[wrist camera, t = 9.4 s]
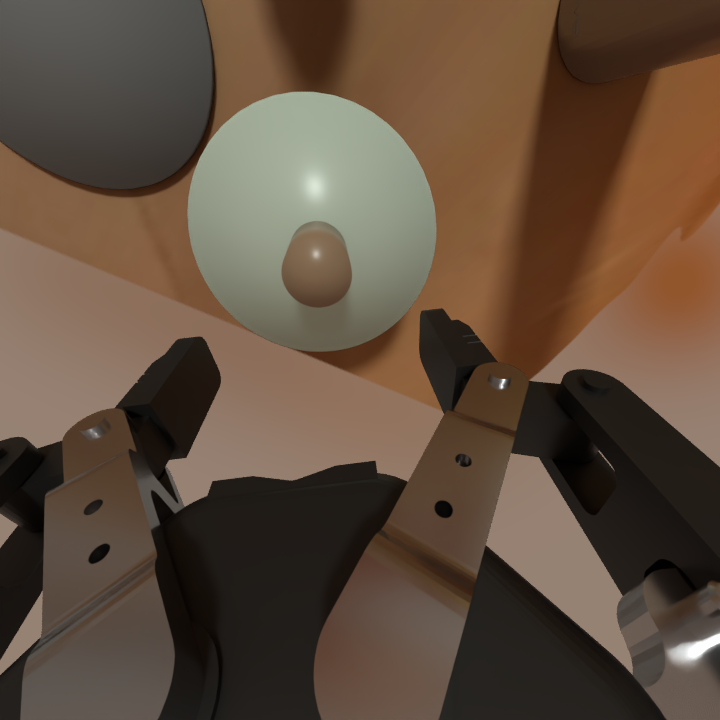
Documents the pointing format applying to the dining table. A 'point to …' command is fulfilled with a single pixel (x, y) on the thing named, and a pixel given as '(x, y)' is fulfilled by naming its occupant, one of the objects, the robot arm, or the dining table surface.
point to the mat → (105, 87)
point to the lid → (311, 221)
